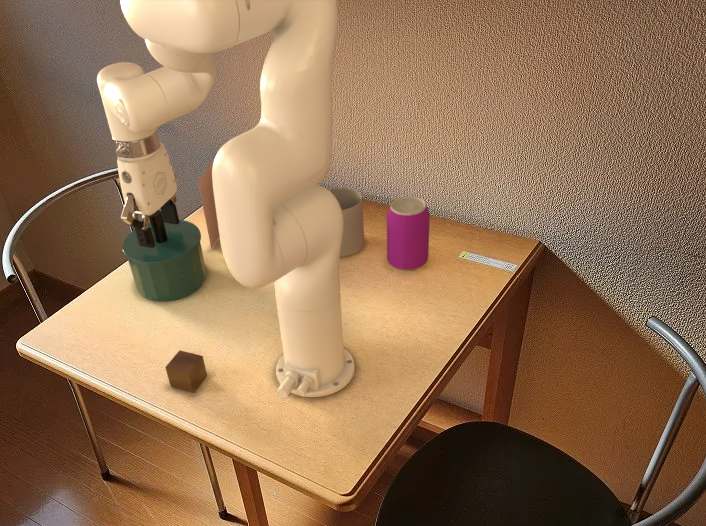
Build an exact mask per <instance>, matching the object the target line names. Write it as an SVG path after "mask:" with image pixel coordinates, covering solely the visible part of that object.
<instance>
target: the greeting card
mask: <svg viewBox="0 0 706 526" xmlns="http://www.w3.org/2000/svg"><path fill="white" fill-rule="evenodd" d="M213 163H214V159H213V160H212V162H210V164H209V165H208V167H207V169H205V171H204V173H202V175H201V177H200V178H199V179H198V181H197V185H198V189H199V194H200V200H201V205H202V209H203V214H204V219H205V224H206V229H207V234H208V239H209V244H210V249H211V251H212V250H213V249H214V247H215V245H216V243H217V242H218V241H219V240H220V236H219V229H218V221H217V214H216V206H215V199H214V191H213V182H212V168H213Z"/></svg>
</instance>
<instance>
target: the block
mask: <svg viewBox="0 0 706 526" xmlns="http://www.w3.org/2000/svg"><path fill="white" fill-rule="evenodd" d="M165 371H166V375H167V378H168V383H169V385H170V388H172V389H176V390H180V391H184V392H187V393H189V394H190V393H191V394H195V393H196V391H197V390H198V389H199V387H201V385H202V384H203V383H204V381H205V380H206V378H207V377H208V373H207V368H206V365H205V360H204V357H203V355H201V354H197V353H193V352H190V351H189V352H188V351H184V350H182V349H181V350H180V349H179V350H178V351H177V353H176V354H175V355H174V356H173V357H172V359H171V360H170V361H168V363H167V364H166V366H165Z"/></svg>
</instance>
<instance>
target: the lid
mask: <svg viewBox="0 0 706 526" xmlns="http://www.w3.org/2000/svg"><path fill="white" fill-rule="evenodd" d="M148 221H149V222H148V227H151V230H152V234H153V238H154V242H155V247H154V248H149V247H144V246H140V245H139V242H138V239H137V235H136V231H135V229H133V230H132V231H131V232H130V233H128V234H127V236H126V237H125V238H124V239H123V241H122V244H121V249H122V253H123V255H124V256H125V257H126V258H127V260H128V259H129V260H131V261H133V262H136V263H140V264H149V265H152V264H163V263H168V262H172V261H175V260H178V259H180V258H182V257H184V256H186V255H188V254H189V253H191V252H192V251H193V250H194V249H195V248H196V247H197V246H198V245H199V243H201V240H202V234H201V230H200V228H199V227H198V226H197V225H196V224H195V223H193V222H191V221H188V220H184V219H179V224H177V225H176V224H170V223H165V222H164V221H163V217H162V212H161V209H160V210H159V209H158V210H157V211H156V212H155V213H154V214H152V215H149V220H148Z"/></svg>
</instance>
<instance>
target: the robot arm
mask: <svg viewBox="0 0 706 526" xmlns="http://www.w3.org/2000/svg"><path fill="white" fill-rule="evenodd" d="M119 1H120V2H119V3H120V8H121V11H122V13H123V17H124V18H125V20H126V22H127V24H128V26H129V27H130V28H131V30H132V31H133V32H134V33H135V34H136V35H137V36H139V37H140V38H141V39H143V40H144V41H145V45H146V48H147V51H148V52H149V54H150V55H151V57H152V58H153V59H155V61H156V62H157V63H159V64H160V65H161V67H159V68H156V69H154V70H151V71H148V72H145V71H144V69H143V68H142V67H141V65H139V64H137V63H135V62H130V61H122V62H121V61H120V62H116V63H112V64H109V65H107V66H105V67H103V68H101V70H99V71H98V73H97V78H96V82H97V87H98V90H99V94H100V98H101V102H102V105H103V108H104V109H103V110H104V113H105V117H106V119H107V120H106V121H107V124H108V127H109V131H110V134H111V138H112V142H113V145H114V151H115V156H117V159H116V163H117V169H118V170H117V172H118V178H119V179H118V180H119V184H120V189H121V193H122V197H123V201H124V206H123V209H122V212H121V215H120V221H122V222H124V223H125V224H126V225H127V226H128V227H131V228H132V229H134V230H135V231H136V235H137V239H138V242H139V245H140V246H144V247H149V248H154V247H155V242H154V238H153V234H152V230H151V227H148V223H149V221H150V220H149V215H152V214H154V213H155V212H156V211H157V210H159V209H160V211H161V213H162V217H163V221H164V222H165V223H170V224H176V225H177V224H179V220H180V217H179V214H178V209H177V205H176V203H177V200H178V199H177V197H176V195H177V191H178V186H177V183H178V173H177V172H174V169H173V166H172V163H171V159H170V156H169V154H168V152H167V149H166V147H165V145H164V143H163V142H162V140H161V139H160V136H159V131H158V127H160V126H162V125H164V124H166V123H168V122H171V121H173V120H175V119H177V118H180V117H182V116H185V115H187V114H189V113H192V112H193V111H195V110H196V109H198V107H200V106H201V105H202V104H203V103H204V101H205V100H206V98H207V97H208V95H209V93H210V91H211V89H212V88H213V85H214V83H215V81H216V63H215V58H214V53H215V54H216V53H218V52H219V53H220V52H222V51H225V50H227V49H230V48H232V47H235V46H237V45H239V44H242V43H245V42H247V41H250V40H252V39H254V38H258V37H260V36H262V35H264V34H267V33H269V32H271V31H272V32H273V34H274V35H273V40H272V42H271V45H270V47H269V48H268V52H267V54H266V56H265V59H264V63H263V66H262V70H261V74H260V82H259V94H260V104H261V108H260V109H261V110H260V111H261V112H260V119H259V121H258V123H257V124H256V125H255V126H254V127H253V128H251V129H249V130H246V131H245V132H243V133H241V134H238V135H237V136H235V137H233V138H231V139H229V140H228V141H227V142H225V143H224V144H223V145H222V146H220V148H219V149H218V151H217V153H216V154H215V157H214V159H213V160H214V163H213V168H212V182H213V191H214V199H215V206H216V214H217V221H218V229H219V236H220V237H219V243H220V247H221V248H220V249H221V252H222V256H223V259H224V263H225V265H226V266H227V269H228V271H229V273H230V274H231V275H232V277H233V278H234V279H235V280H236V281H237V282H238V283H239V284H241V285H242V286H244V287H247V288H250V289H259V288H264V287H266V286H269V285H271V284H273V283H274V286H273V287H274V296H275V303H276V310H277V317H278V325H279V332H280V341H281V346H282V353H283V354H282V355H281V356H280V357H279V359H278V360H277V363H276V366H275V374H276V378H277V382H278V384H279V386H278V388H277V389H276V391H275V394H276V395H277V396H278V398H280V399H283V400H285V399H287V398H288V397H289V396H290V394H294V395H296V396H299V397H303V398H321V397H326V396H329V395H332V394H336V393H337V392H339V391H342V389H344V388H345V387H347V386H348V384H349V383H350V382H351V381H352V379H353V378H354V375H355V371H356V369H355V360H354V357H353V355H352V354H351V353H350V351H348V349H346V348H345V347H344V332H343V317H342V315H343V314H342V300H341V282H340V281H341V280H340V279H341V278H340V258H341V256H340V250H341V244H342V238H343V227H344V222H343V214H342V210H341V207H340V204H339V202H338V201H337V199H336V198H335V196H334V195H333V194H332V193H331V192H330V191H329V190H330V189H328V188H326V187H323V186H321V185H318V184H319V183H321V182H322V181H323V180H324V179H325V178H326V177H327V176H328V174H329V172H330V171H331V167H332V161H333V70H334V61H335V53H336V44H337V37H338V3H337V0H119ZM139 215H141V216H142V217H141V220H139Z"/></svg>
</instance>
